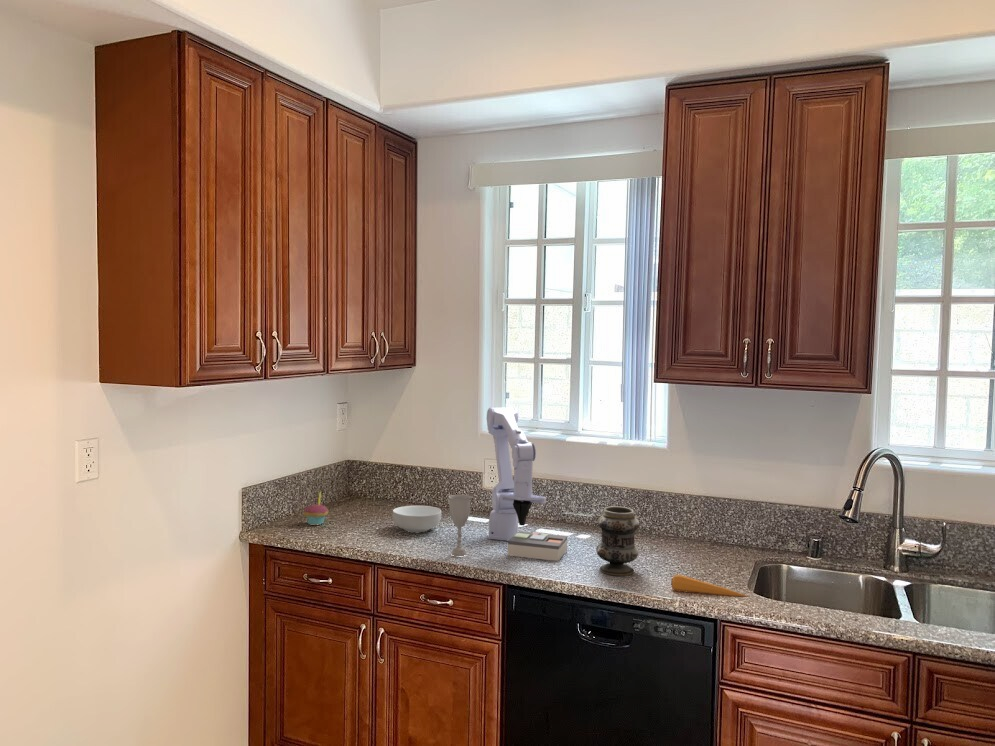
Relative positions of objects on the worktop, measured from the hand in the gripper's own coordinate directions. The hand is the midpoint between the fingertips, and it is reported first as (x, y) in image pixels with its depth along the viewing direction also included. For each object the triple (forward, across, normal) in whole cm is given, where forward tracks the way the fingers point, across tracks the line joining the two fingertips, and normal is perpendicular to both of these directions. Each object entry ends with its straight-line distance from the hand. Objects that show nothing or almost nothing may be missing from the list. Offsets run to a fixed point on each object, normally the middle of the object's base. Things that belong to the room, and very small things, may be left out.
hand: (522, 524), depth 230 cm
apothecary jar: (+9, +31, -9) cm, 34 cm away
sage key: (+6, 0, 0) cm, 6 cm away
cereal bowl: (+9, -41, +11) cm, 43 cm away
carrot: (+9, +57, -20) cm, 61 cm away
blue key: (+6, +5, 0) cm, 8 cm away
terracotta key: (+7, +10, 0) cm, 12 cm away
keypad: (+8, +5, 0) cm, 10 cm away
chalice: (+9, -17, -11) cm, 22 cm away
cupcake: (+9, -77, +5) cm, 77 cm away
